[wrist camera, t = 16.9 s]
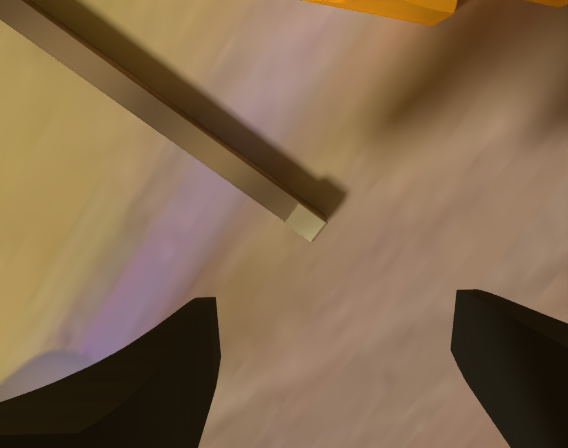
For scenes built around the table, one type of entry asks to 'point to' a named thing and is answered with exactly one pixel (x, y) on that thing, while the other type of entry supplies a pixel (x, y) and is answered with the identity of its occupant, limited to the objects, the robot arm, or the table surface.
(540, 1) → the pipe clamp
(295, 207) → the guide rails
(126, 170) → the table surface
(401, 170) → the table surface
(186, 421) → the robot arm
